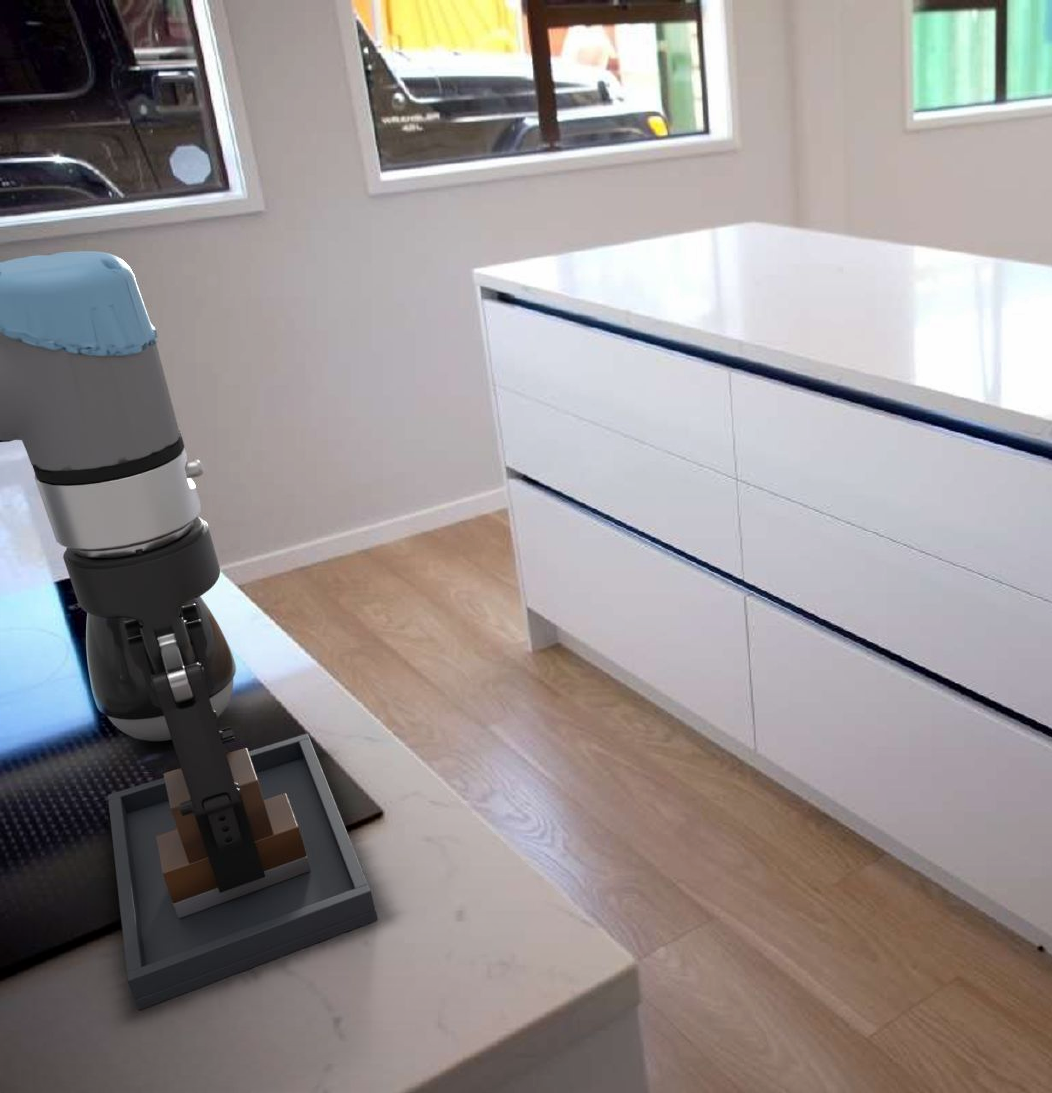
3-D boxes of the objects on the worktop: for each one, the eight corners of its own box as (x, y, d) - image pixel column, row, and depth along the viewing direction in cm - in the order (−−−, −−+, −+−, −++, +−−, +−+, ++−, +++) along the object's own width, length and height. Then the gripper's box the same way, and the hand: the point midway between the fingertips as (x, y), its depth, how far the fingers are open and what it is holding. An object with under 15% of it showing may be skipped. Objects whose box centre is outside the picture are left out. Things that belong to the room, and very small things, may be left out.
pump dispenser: (165, 686, 106) (113, 524, 100) (272, 694, 104) (227, 528, 98) (77, 754, 97) (15, 579, 91) (193, 763, 95) (138, 585, 89)
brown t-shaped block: (311, 871, 81) (283, 771, 78) (178, 919, 78) (143, 817, 74) (298, 835, 85) (271, 739, 82) (170, 880, 81) (136, 781, 78)
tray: (378, 919, 78) (370, 890, 77) (138, 1010, 72) (127, 980, 71) (314, 758, 95) (307, 732, 94) (116, 820, 89) (107, 794, 88)
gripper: (225, 566, 66) (322, 913, 75) (188, 472, 80) (274, 775, 89) (65, 606, 62) (188, 963, 72) (55, 500, 76) (159, 812, 86)
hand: (235, 859), depth 81 cm, fingers closed on brown t-shaped block, 4 cm apart
